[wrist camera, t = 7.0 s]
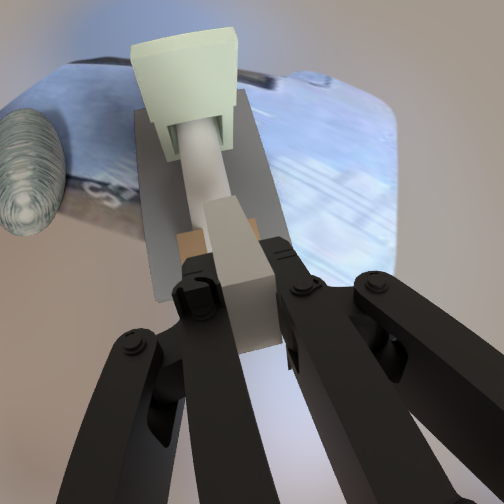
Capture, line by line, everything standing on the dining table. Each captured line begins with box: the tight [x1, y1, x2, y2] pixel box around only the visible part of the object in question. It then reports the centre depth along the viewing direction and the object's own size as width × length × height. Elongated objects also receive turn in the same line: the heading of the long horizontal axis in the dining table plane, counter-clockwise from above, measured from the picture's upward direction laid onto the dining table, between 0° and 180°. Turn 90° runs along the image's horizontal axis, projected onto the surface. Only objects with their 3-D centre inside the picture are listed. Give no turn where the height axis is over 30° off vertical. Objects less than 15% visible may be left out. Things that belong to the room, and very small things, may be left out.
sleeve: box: [131, 27, 238, 162], centre depth 20 cm, size 6×4×12 cm, turn 104°
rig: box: [134, 89, 292, 303], centre depth 25 cm, size 12×20×9 cm, turn 14°
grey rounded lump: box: [0, 108, 66, 236], centre depth 25 cm, size 14×10×10 cm
